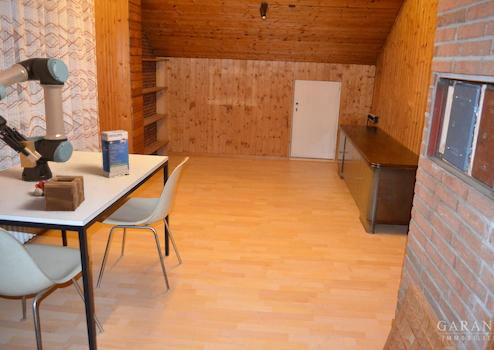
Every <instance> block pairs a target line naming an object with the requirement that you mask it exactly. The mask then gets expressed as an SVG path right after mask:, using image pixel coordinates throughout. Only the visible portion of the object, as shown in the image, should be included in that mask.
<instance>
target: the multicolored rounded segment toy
mask: <svg viewBox="0 0 494 350" xmlns="http://www.w3.org/2000/svg"><path fill="white" fill-rule="evenodd" d="M48 181H49V179H48V180H44V181H38V183H36V184H35V185H34V186H35V188H36V189H35V190H34V192H33V193H34V195H35V196H36V197H41V196H43V195H44V196H45V194H44V184H45V183H47V182H48Z"/></svg>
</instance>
